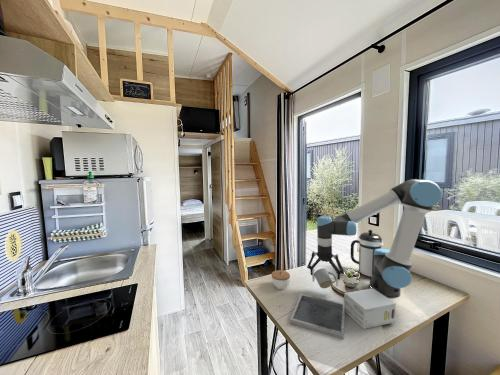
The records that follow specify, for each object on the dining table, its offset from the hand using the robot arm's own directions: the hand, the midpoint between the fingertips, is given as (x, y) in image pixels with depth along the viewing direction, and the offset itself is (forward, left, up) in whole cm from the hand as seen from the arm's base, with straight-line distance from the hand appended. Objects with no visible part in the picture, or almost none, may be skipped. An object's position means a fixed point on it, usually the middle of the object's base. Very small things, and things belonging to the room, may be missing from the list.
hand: (325, 282), depth 120 cm
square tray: (0, +21, -6) cm, 22 cm away
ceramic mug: (-1, 0, -2) cm, 2 cm away
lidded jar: (+24, +4, -6) cm, 25 cm away
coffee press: (-23, -33, -6) cm, 41 cm away
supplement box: (-21, +13, -6) cm, 25 cm away
